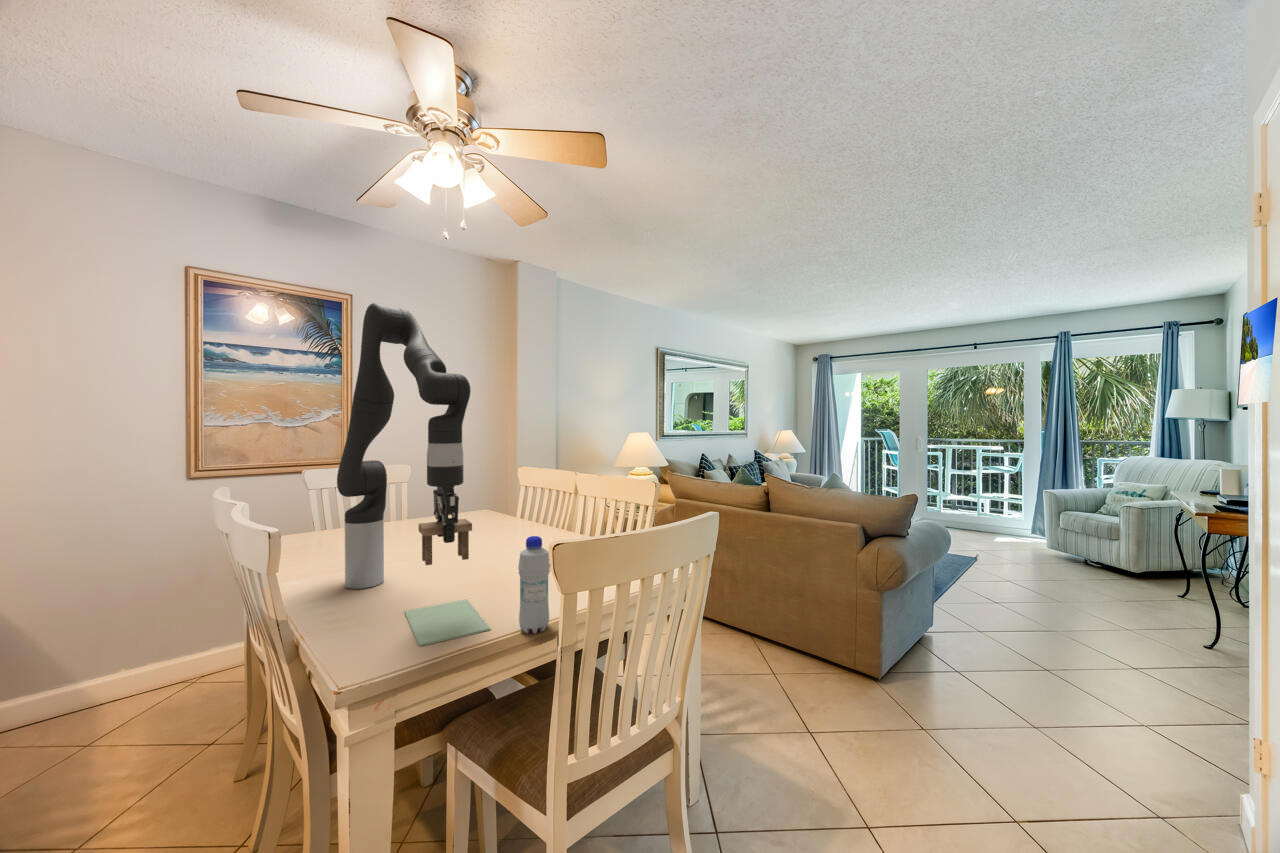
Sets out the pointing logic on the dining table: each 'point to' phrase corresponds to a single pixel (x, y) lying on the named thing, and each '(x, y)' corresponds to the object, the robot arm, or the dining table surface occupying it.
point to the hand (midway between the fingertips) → (445, 538)
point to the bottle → (534, 586)
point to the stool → (437, 529)
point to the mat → (445, 622)
